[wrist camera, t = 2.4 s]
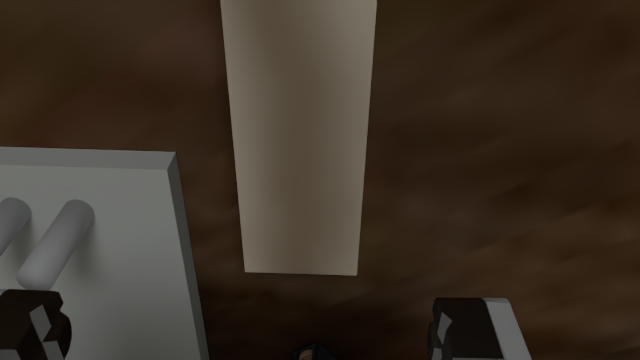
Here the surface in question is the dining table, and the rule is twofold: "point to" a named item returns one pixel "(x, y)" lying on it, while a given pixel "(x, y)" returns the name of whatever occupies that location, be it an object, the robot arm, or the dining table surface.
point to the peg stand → (104, 248)
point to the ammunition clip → (312, 353)
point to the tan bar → (299, 129)
